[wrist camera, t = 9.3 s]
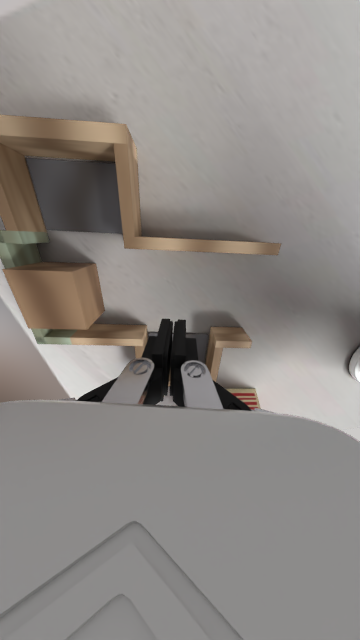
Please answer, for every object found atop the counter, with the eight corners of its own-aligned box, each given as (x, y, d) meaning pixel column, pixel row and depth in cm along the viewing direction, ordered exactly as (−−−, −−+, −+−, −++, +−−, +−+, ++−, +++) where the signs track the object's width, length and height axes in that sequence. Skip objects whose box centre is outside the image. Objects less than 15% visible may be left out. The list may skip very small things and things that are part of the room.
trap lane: (284, 158, 15) (312, 138, 12) (231, 369, 27) (238, 386, 24) (-11, 138, 14) (-64, 109, 11) (70, 367, 26) (55, 385, 23)
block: (96, 263, 19) (72, 271, 15) (105, 310, 22) (87, 329, 17) (43, 261, 19) (2, 269, 14) (59, 309, 21) (28, 328, 17)
